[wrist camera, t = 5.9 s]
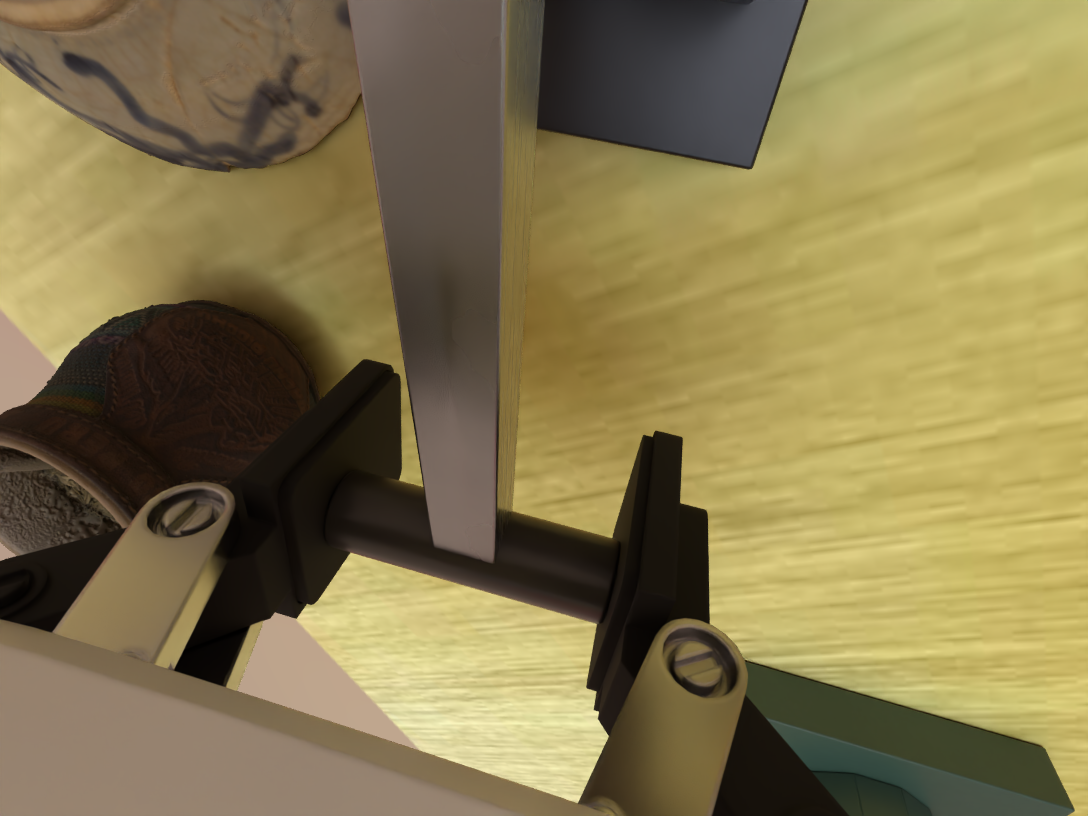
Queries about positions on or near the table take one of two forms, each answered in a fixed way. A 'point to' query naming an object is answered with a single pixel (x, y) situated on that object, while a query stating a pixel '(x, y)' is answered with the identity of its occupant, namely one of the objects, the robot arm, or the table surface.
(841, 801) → the block
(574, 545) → the lever
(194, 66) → the decorative bowl
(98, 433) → the mate gourd
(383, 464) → the robot arm
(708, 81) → the lever bracket
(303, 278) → the table surface
